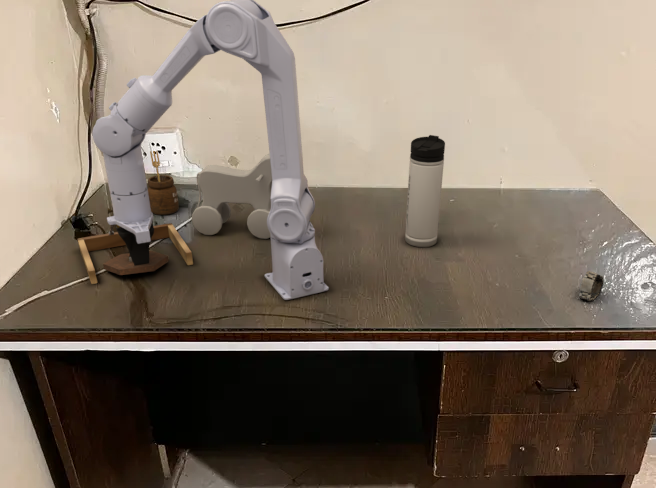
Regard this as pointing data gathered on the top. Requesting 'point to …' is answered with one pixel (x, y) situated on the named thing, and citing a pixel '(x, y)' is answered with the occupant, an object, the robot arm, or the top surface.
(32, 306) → the top surface
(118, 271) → the robot figurine
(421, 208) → the travel mug
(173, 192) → the utensil holder
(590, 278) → the wristwatch
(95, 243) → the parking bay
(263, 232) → the pony
